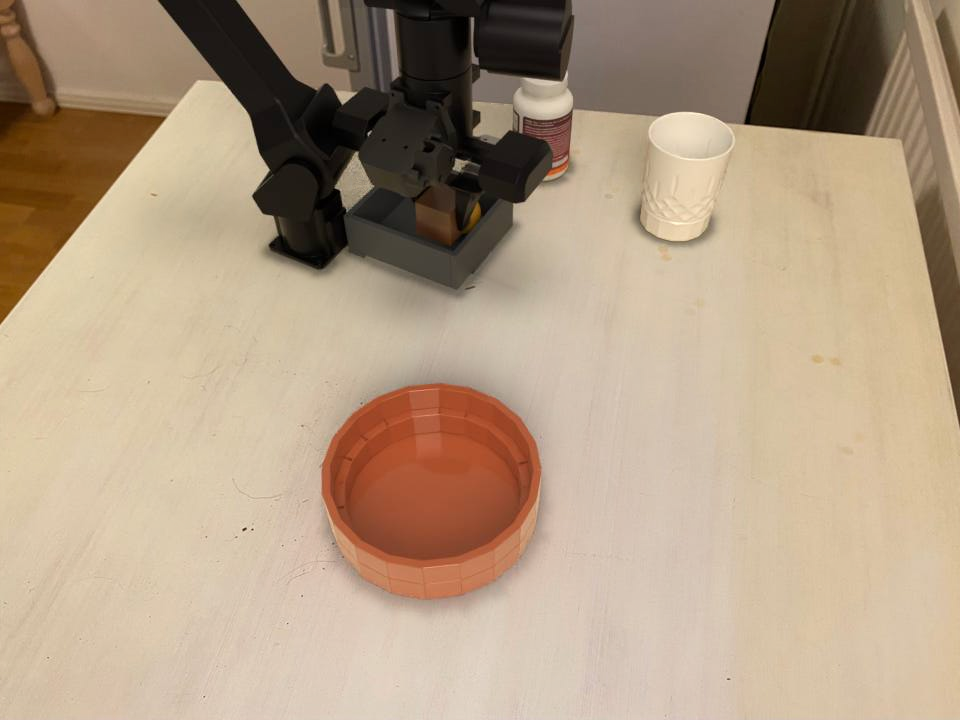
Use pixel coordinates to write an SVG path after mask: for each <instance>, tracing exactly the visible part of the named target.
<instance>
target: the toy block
mask: <svg viewBox="0 0 960 720" xmlns="http://www.w3.org/2000/svg"><path fill="white" fill-rule="evenodd" d="M415 209H416V221H417V233H418V234H420V235H422V236H425V237H428V238H431V239H433V240H436V241H439V242H442V243H444V244H447V245H450V246H451V245H452V244H453V243H454V242H455V241H456V240H457V239H458V237H459V236H460V235H461V234H462V233H463V232H464V231H465V229H466V228H467V227H468V226H469V225H470V219H469V221H468V224H467V226H466V227H465V228H464V229H463V230H462V231H458V230H457V224H456V217H455V190H453V189H452V188H450V187H448V185H446V184H443V186H441V187H435V186H432V185H431V186H430V187H429V188H428V189H427V190H426V191H425V192H424V194H423V195H422V196H421V197H420V198H419V199H418V200H417V201H416V202H415Z"/></svg>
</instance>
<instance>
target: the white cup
mask: <svg viewBox="0 0 960 720" xmlns="http://www.w3.org/2000/svg"><path fill="white" fill-rule="evenodd" d="M647 129H648V130H647V139H646V147H645V157H644V165H643V166H644V167H643V174H642V181H641V182H642V183H641V206H640V207H641V210H640V218H639V222H640V223H641V224H642V226H643V227H644V230H645V231H646V232H648V233H649V234H652V236H654V237H656V238H659V239H662V240H665V241H670V242H689V241H691V240H694V239H696V238H699V237H701V235H702V234H703V233H704V232H705V231H706V230H707V228H708V226H709V222H710V219H711V215H712V212H713V210H714V208H715V205H716V204H717V200H718V197H719V194H720V191H721V189H722V186H723V182H724V180H725V176H726V173H727V170H728V166H729V163H730V161H731V157H732V153H733V150H734V147H735V145H736V136H735V133H734V131H733V130H732V129H731V127H730V126H729V125H728V124H727V123H725V122H724V121H722V120H720V119H718V118H716V117H714V116H712V115H709V114H706V113H701V112H700V113H699V112H695V111H676V112H670V113H666V114H664V115H661V116H659V117H657V118H656V119H654V120H653V121H652V122H651V123H650V125H649V127H648V128H647Z"/></svg>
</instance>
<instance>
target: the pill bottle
mask: <svg viewBox="0 0 960 720" xmlns="http://www.w3.org/2000/svg"><path fill="white" fill-rule="evenodd" d="M519 81H520V82H519V83H520V87H519V88H517V90H515V93H514V94H513V97H512V127H511V128H512V129H511V130H512V131H515V132H519V133H522V134H525V135H529V136H532V137H535V138H539V139H542V140H545V141H547V142H548V143H549V144H550V145H551V148H552V150H553V164H552V170H551V171H550V172H549V173H548V174H547V176H546V177H545V178H544V179H543V181H542V182H546V181H547V182H548V181H552V180H555V179H557V178H559V177H561V176H562V175H564V174H565V172H566V171H568V167H569V163H570V162H569V161H570V149H571V140H572V139H571V138H572V126H573V115H574V96H573V94H572V92H571V90H570V89H569V88H568V84H569V72H568V70H567V72H566V75H565V78H564V80H563V82H557V81H549V80H540V79H532V78H524V77H520V79H519Z"/></svg>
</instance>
